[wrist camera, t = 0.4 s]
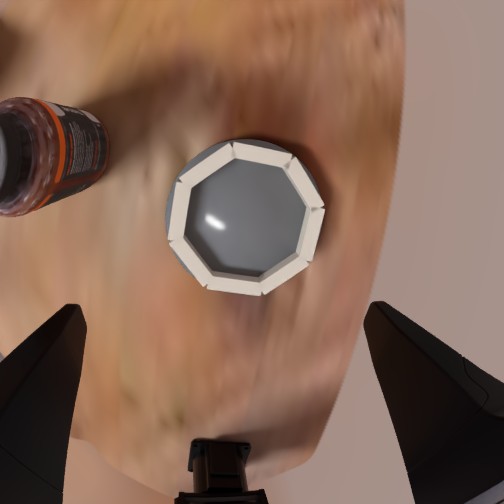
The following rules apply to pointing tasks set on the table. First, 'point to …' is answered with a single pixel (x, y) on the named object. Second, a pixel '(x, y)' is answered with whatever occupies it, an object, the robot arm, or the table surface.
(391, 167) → the table surface
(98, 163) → the supplement bottle
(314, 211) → the ring seat
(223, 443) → the robot arm
